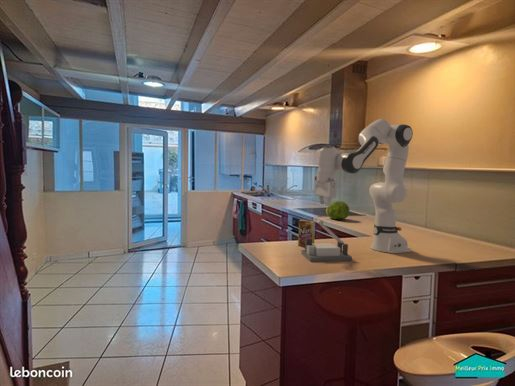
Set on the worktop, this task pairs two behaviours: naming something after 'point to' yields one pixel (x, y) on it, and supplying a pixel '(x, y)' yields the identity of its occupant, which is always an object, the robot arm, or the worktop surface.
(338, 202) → the lettuce
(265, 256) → the worktop surface
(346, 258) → the heatsink board
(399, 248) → the robot arm
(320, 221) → the strap
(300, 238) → the candy box
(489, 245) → the worktop surface
